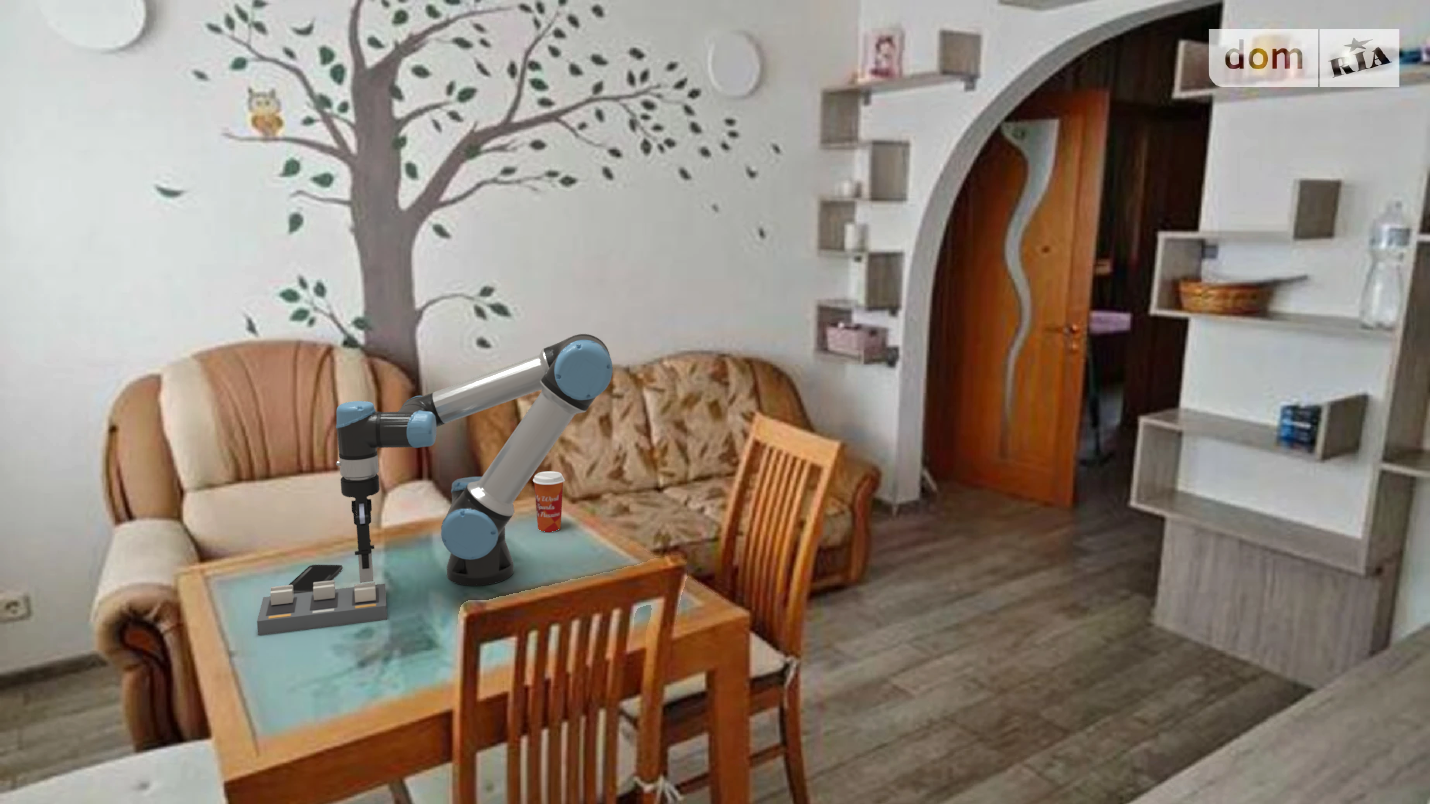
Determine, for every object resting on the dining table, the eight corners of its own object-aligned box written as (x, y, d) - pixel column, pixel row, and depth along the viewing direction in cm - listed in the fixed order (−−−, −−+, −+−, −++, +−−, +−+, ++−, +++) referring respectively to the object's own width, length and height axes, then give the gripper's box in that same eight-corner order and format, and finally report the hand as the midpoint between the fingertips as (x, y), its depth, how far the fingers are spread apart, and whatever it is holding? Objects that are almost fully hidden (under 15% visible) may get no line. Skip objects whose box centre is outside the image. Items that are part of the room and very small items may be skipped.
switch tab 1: (293, 596, 189) (292, 582, 189) (292, 602, 187) (291, 588, 186) (272, 599, 188) (271, 584, 187) (271, 605, 185) (270, 590, 185)
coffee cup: (529, 532, 240) (528, 478, 237) (540, 522, 248) (539, 469, 245) (559, 535, 239) (558, 480, 236) (569, 524, 247) (569, 471, 244)
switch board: (385, 596, 199) (385, 583, 198) (387, 619, 188) (386, 605, 187) (264, 610, 190) (263, 596, 190) (258, 635, 179) (256, 620, 179)
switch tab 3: (375, 594, 192) (374, 580, 191) (375, 600, 189) (375, 585, 188) (355, 596, 190) (354, 582, 190) (355, 602, 188) (354, 588, 187)
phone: (282, 590, 199) (310, 564, 213) (282, 595, 199) (311, 568, 214) (318, 591, 199) (344, 564, 214) (318, 595, 199) (344, 569, 214)
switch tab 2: (335, 592, 192) (334, 578, 192) (334, 597, 190) (333, 583, 189) (314, 594, 191) (313, 580, 190) (313, 600, 188) (312, 585, 187)
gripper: (340, 468, 195) (348, 571, 200) (339, 485, 183) (347, 594, 188) (377, 465, 198) (384, 567, 203) (379, 482, 186) (386, 589, 191)
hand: (366, 580), depth 195 cm, fingers closed
